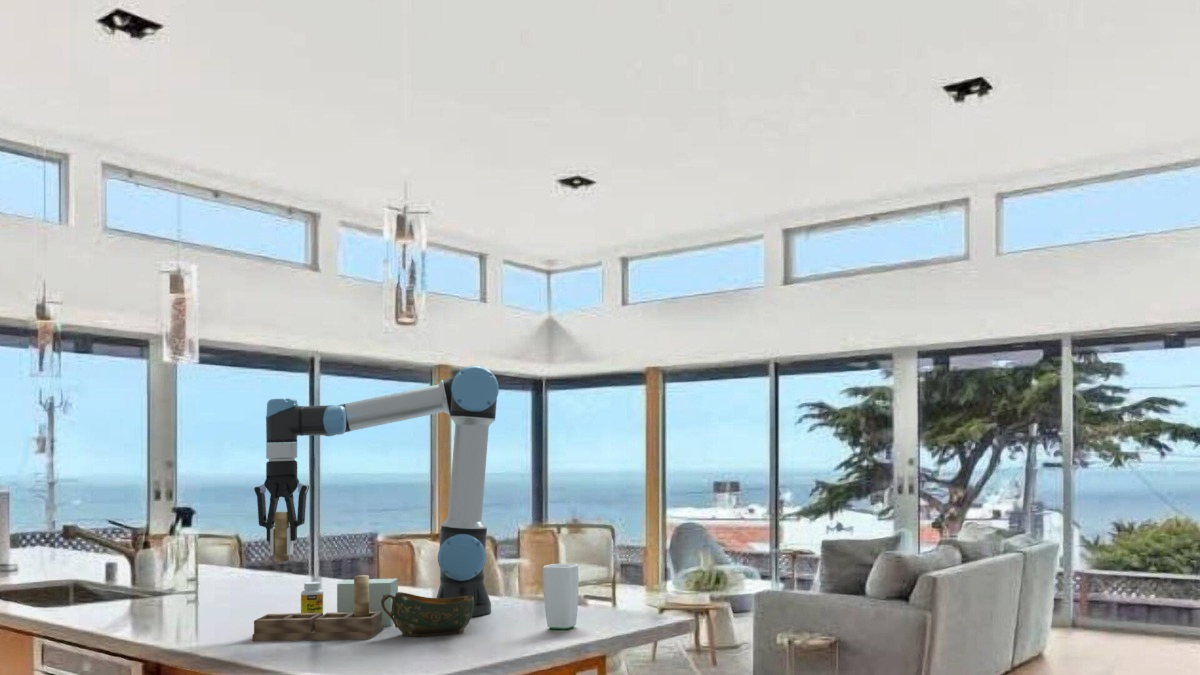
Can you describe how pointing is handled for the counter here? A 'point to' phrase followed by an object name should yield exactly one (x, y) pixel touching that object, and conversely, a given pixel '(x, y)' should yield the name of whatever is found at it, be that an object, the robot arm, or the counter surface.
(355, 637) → the wooden compartment tray
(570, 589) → the cup
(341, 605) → the pale green boxy piece
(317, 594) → the supplement bottle
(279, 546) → the peg
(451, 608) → the green gravy boat
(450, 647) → the counter surface
